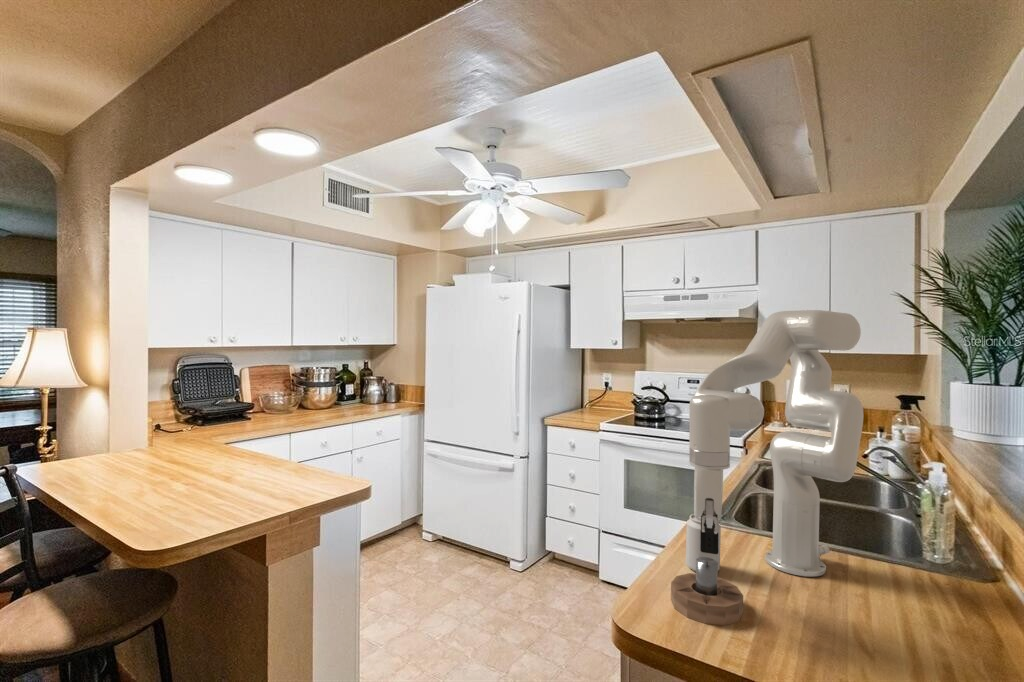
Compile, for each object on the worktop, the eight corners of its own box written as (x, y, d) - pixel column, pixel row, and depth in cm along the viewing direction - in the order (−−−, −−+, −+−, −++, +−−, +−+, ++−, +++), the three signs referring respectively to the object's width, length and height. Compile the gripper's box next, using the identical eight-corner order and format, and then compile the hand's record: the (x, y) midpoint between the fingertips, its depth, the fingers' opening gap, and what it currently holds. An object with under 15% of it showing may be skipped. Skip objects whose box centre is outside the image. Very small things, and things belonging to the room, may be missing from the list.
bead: (705, 585, 109) (706, 569, 109) (756, 616, 97) (757, 598, 97) (658, 596, 104) (658, 580, 104) (706, 630, 92) (706, 611, 92)
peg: (706, 599, 103) (707, 555, 103) (721, 609, 99) (722, 564, 99) (691, 603, 101) (692, 559, 101) (706, 613, 98) (707, 567, 98)
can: (723, 577, 113) (724, 524, 113) (687, 574, 114) (689, 521, 114) (716, 563, 120) (717, 513, 120) (683, 559, 121) (684, 510, 121)
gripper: (690, 446, 110) (690, 524, 110) (688, 466, 94) (687, 558, 94) (727, 449, 107) (727, 529, 107) (732, 470, 91) (731, 564, 91)
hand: (709, 542), depth 101 cm, fingers open, 9 cm apart
